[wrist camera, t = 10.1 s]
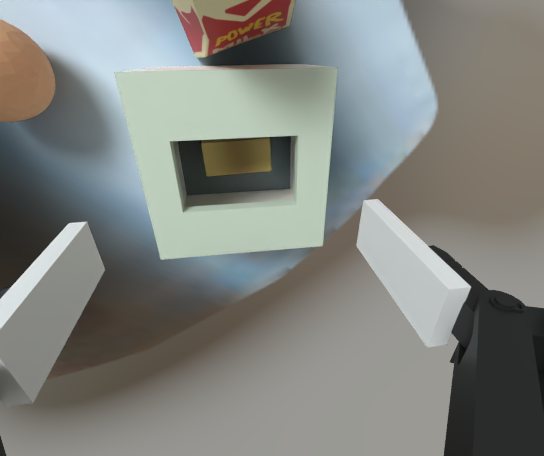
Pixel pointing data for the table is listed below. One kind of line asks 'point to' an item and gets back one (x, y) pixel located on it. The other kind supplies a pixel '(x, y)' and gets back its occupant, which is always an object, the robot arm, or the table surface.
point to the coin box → (226, 125)
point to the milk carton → (230, 21)
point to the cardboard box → (236, 155)
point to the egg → (23, 76)
